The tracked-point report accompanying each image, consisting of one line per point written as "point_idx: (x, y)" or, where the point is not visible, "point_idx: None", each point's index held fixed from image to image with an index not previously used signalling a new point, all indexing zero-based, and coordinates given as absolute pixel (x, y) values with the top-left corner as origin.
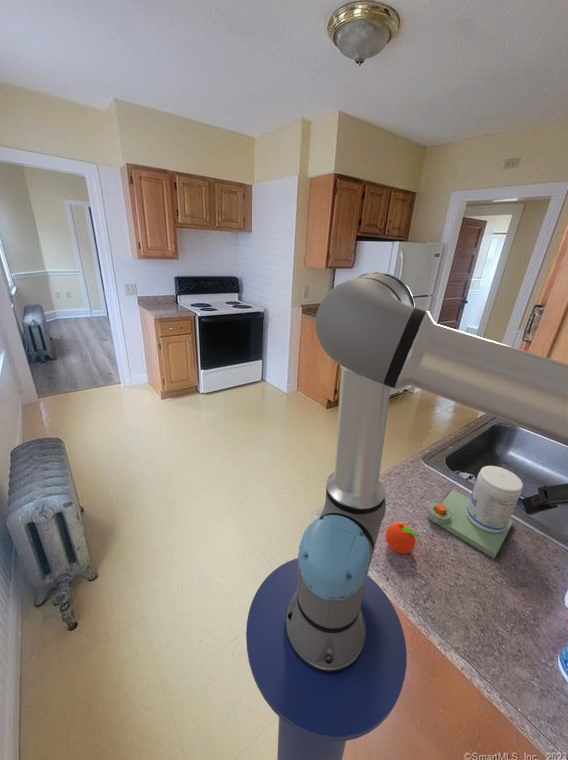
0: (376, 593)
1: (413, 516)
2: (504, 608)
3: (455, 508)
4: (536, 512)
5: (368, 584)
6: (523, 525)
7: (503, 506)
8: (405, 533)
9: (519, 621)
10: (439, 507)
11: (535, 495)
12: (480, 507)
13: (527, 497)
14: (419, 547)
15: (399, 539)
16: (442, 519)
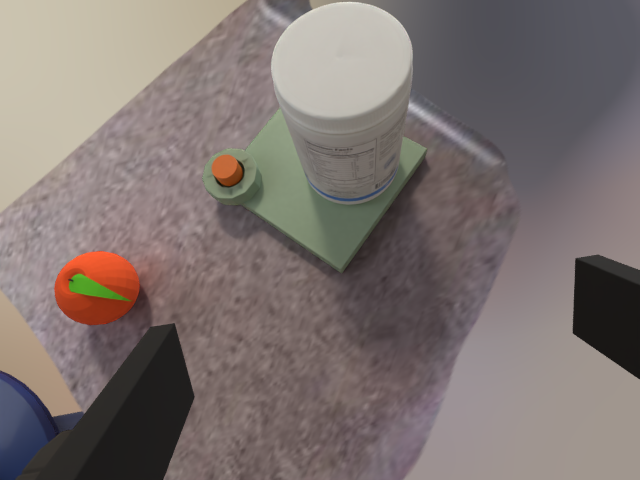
0: (27, 441)
1: (185, 191)
2: (315, 408)
3: (286, 146)
4: (178, 435)
5: (15, 421)
6: (456, 149)
7: (347, 159)
8: (76, 297)
9: (337, 436)
10: (218, 170)
11: (96, 404)
12: (303, 160)
13: (131, 353)
14: (172, 281)
15: (68, 312)
16: (228, 199)
